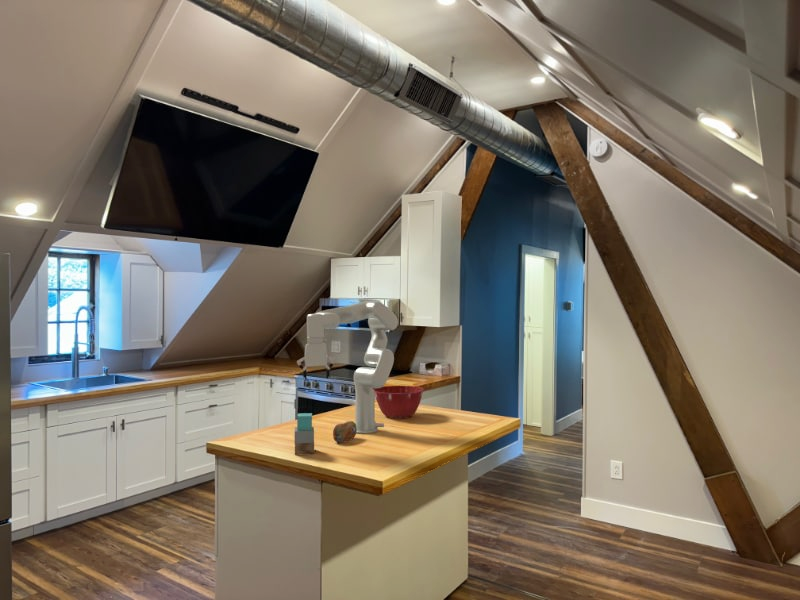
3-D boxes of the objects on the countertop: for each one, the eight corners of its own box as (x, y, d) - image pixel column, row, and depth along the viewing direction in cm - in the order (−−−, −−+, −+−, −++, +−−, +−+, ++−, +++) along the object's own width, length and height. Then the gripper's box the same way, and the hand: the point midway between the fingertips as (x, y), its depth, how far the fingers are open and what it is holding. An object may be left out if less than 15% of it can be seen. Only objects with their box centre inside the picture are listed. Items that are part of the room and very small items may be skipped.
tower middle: (313, 438, 245) (313, 426, 245) (313, 442, 237) (314, 430, 237) (294, 438, 243) (294, 427, 243) (294, 443, 235) (294, 431, 235)
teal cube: (311, 427, 244) (312, 413, 244) (311, 430, 238) (311, 416, 238) (297, 427, 243) (297, 413, 243) (297, 430, 237) (297, 416, 237)
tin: (337, 444, 253) (337, 425, 254) (331, 443, 255) (331, 424, 255) (357, 437, 266) (357, 420, 266) (351, 437, 268) (351, 419, 268)
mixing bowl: (367, 420, 306) (367, 391, 306) (380, 410, 334) (380, 384, 334) (418, 422, 300) (418, 393, 300) (427, 412, 328) (427, 386, 328)
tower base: (313, 449, 245) (313, 438, 245) (314, 454, 237) (314, 442, 237) (294, 450, 243) (294, 438, 243) (294, 455, 235) (294, 443, 235)
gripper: (334, 339, 261) (335, 376, 261) (296, 340, 258) (297, 378, 258) (335, 341, 254) (336, 379, 254) (296, 342, 251) (297, 380, 251)
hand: (316, 378), depth 256 cm, fingers open, 9 cm apart
